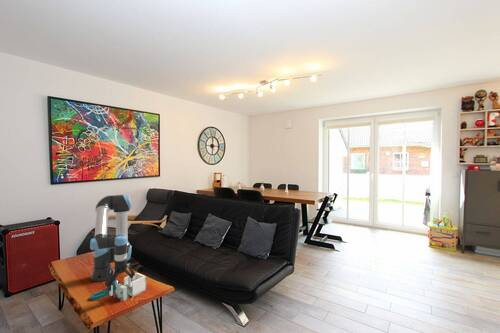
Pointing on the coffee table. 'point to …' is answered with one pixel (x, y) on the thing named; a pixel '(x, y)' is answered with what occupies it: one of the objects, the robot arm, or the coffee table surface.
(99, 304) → the coffee table surface
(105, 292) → the bracket
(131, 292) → the cabinet
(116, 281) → the small parts
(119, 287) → the door
